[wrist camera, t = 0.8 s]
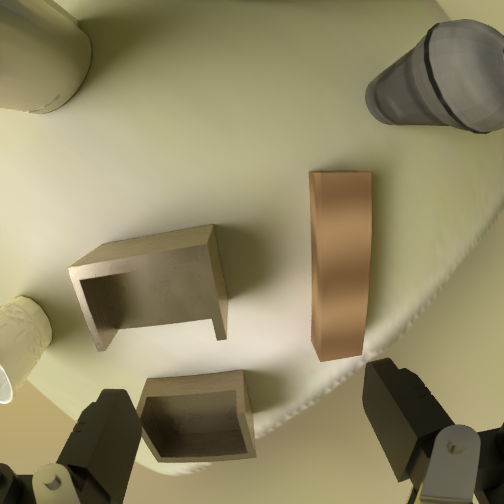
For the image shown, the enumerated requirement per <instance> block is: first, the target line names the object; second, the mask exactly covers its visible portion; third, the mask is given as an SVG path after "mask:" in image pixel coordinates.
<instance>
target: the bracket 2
mask: <svg viewBox="0 0 504 504" xmlns="http://www.w3.org/2000/svg"><path fill="white" fill-rule="evenodd" d="M136 412H137V414H138V416H139V418H140V421H141V424H142V438H143V439H144V441H145V443H146V444H147V446H148V448H149V449H150V451H151V452H152V454H153V455H154V457H155V458H156V460H157V462H164V463H186V462H213V461H227V460H238V459H248V458H256V446H255V435H254V424H253V414H252V409H251V405H250V401H249V396H248V392H247V388H246V383H245V379H244V374H243V370H237V371H229V372H221V373H213V374H203V375H193V376H182V377H169V378H153V379H147V380H146V383H145V386H144V389H143V391H142V394H141V397H140V400H139V403H138V406H137V409H136Z"/></svg>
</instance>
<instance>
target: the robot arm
mask: <svg viewBox="0 0 504 504" xmlns="http://www.w3.org/2000/svg"><path fill="white" fill-rule="evenodd" d="M91 56H92V50H91V43H90V40H89V38H88V37H87V35H86V33H84V32H83V31H82V30H81V29H79V27H78V20H77V19H75V18H74V17H73V16H72V15H71V14H69V13H68V12H67V11H66V10H64V9H63V8H62V7H61V6H59V5H58V4H57V3H56V2H54V1H53V0H0V108H6V109H12V110H18V111H23V112H27V113H36V114H43V113H48V112H51V111H53V110H55V109H57V108H59V107H61V106H62V105H63V104H64V103H66V102H67V101H68V100H69V99H70V98H71V97H72V96H73V95H74V94H75V93H76V91H77V90H78V88H79V87H80V86H81V84H82V82H83V80H84V78H85V77H86V75H87V72H88V69H89V66H90V62H91ZM362 400H363V407H364V410H365V413H366V415H367V417H368V419H369V421H370V423H371V425H372V427H373V429H374V431H375V434H376V436H377V438H378V440H379V442H380V444H381V446H382V448H383V450H384V452H385V454H386V457H387V458H388V461H389V463H390V465H391V467H392V469H393V471H394V474H395V476H396V478H397V480H398V482H401V481H404V480H407V479H409V478H410V480H411V482H412V484H413V486H412V488H411V491H410V493H409V496H408V499H407V501H406V504H473V502H472V499H473V493H474V494H475V496H476V498H477V500H478V502H479V504H504V423H503V425H502V426H501V427H500V428H496V429H492V430H487V431H483V432H476V431H475V430H474V429H472V428H471V427H468V426H465V425H455V424H454V422H453V421H452V420H451V418H450V417H449V416H448V414H447V413H446V412H445V410H444V409H443V408H442V406H441V405H440V404H439V402H438V401H437V400H436V399H435V397H434V396H433V395H431V392H430V391H429V389H428V388H427V387H425V384H424V383H423V382H422V381H421V379H420V378H419V377H418V375H416V374H415V373H413V372H411V371H410V370H408V369H406V368H403V369H398V368H397V367H396V365H395V364H394V363H393V361H392V360H391V359H390V358H384V359H380V360H376V361H372V362H368V363H367V364H366V368H365V377H364V387H363V396H362ZM141 436H142V424H141V421H140V418H139V416H138V414H137V412H136V410H135V408H134V406H133V403H132V401H131V399H130V397H129V395H128V393H127V391H126V390H124V389H103V390H102V392H101V394H100V396H99V397H98V399H97V401H96V402H92V403H91V404H90V405H89V406H88V407H87V408H86V409H84V410H83V411H82V413H81V415H80V417H79V419H78V421H77V424H76V425H75V427H74V429H73V432H71V434H70V436H69V438H68V440H67V442H66V444H65V446H64V448H63V450H62V452H61V454H60V456H59V458H58V460H57V462H56V463H49V464H46V465H43V466H41V467H40V468H39V469H38V470H37V471H36V472H35V473H34V475H16V474H15V473H14V471H13V470H12V469H11V468H10V467H9V466H8V465H6V464H3V463H0V504H123V500H124V496H125V492H126V489H127V485H128V481H129V478H130V474H131V471H132V467H133V464H134V460H135V457H136V453H137V450H138V446H139V443H140V440H141Z"/></svg>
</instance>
